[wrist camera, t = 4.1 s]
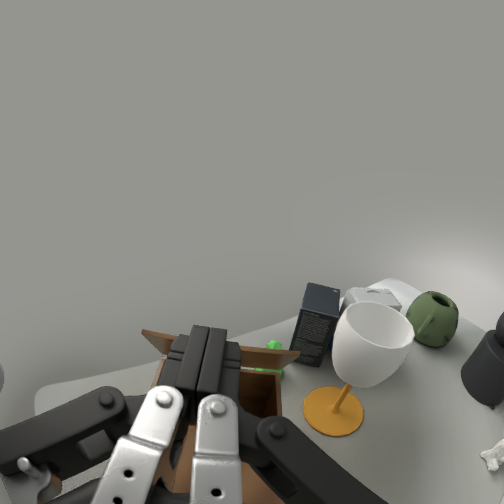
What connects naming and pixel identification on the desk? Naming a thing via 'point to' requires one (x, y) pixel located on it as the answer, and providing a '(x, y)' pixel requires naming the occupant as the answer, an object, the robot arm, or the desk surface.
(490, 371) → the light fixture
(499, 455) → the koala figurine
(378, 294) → the ink box
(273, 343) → the game piece
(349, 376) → the cup
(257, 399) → the brown boxy piece
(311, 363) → the box
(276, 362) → the flap
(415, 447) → the desk surface
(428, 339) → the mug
